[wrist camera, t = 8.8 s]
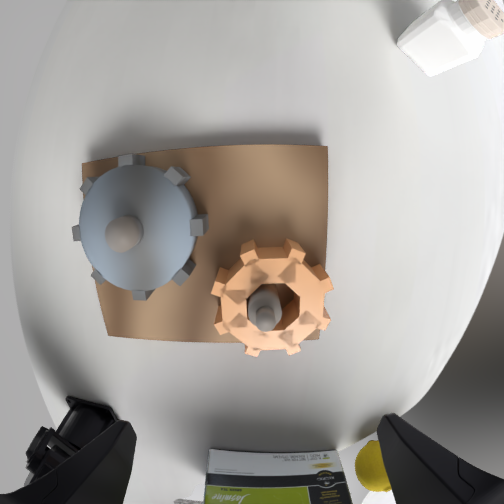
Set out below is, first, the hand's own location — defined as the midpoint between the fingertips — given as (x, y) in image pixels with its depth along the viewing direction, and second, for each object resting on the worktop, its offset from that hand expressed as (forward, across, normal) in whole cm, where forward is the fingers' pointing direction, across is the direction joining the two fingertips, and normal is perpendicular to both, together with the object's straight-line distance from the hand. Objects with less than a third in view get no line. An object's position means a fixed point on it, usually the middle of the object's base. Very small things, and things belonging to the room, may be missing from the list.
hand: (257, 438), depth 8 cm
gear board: (+12, +3, -4) cm, 13 cm away
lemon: (+12, -14, +20) cm, 27 cm away
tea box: (+12, -2, +24) cm, 27 cm away
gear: (+10, -1, -1) cm, 11 cm away
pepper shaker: (+12, -14, -20) cm, 27 cm away
